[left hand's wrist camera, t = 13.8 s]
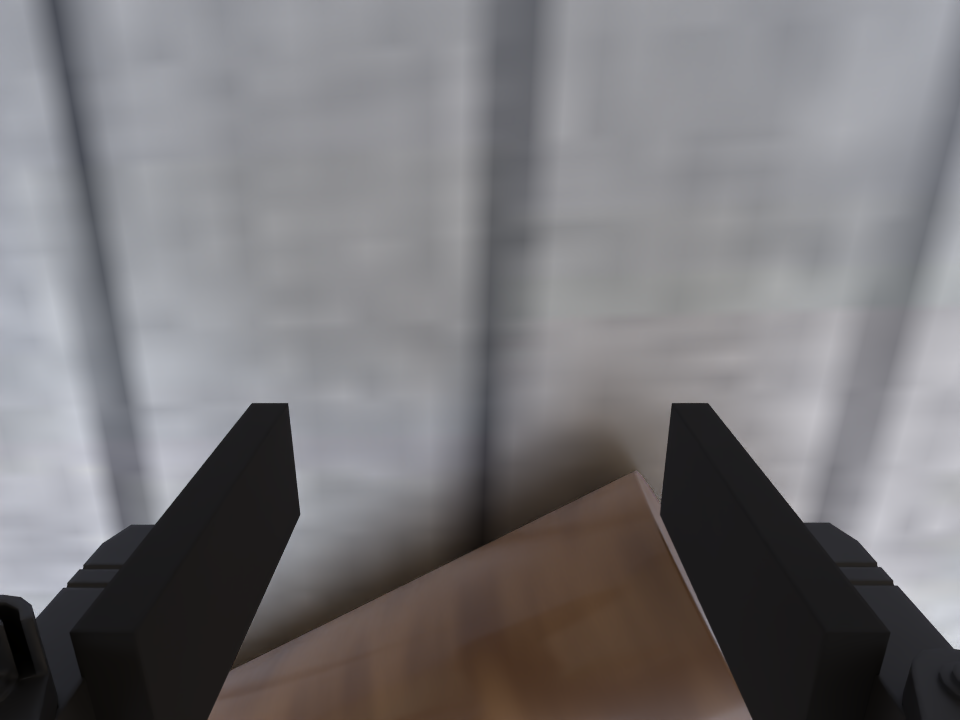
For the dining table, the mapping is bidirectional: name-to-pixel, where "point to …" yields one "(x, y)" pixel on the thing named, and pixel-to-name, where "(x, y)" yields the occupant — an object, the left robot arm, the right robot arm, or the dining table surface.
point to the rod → (515, 634)
